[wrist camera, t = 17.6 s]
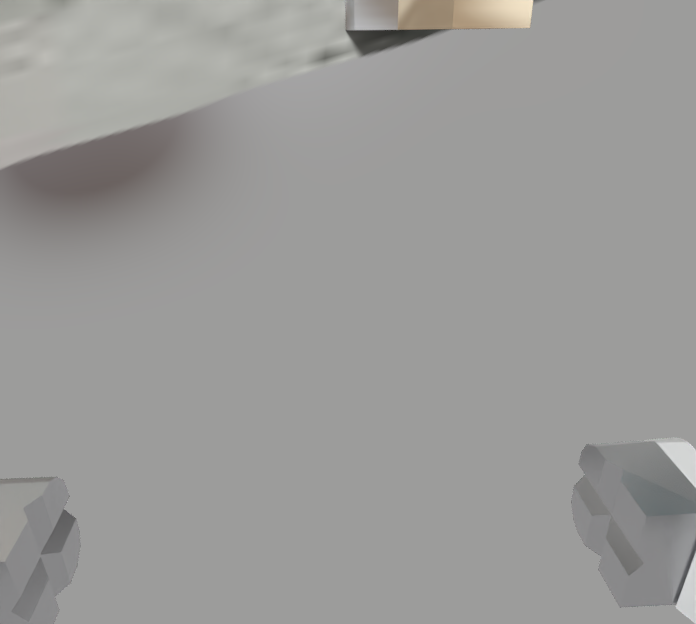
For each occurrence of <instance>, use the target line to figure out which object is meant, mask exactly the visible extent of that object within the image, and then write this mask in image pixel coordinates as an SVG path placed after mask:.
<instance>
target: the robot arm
mask: <svg viewBox="0 0 696 624" xmlns="http://www.w3.org/2000/svg"><path fill="white" fill-rule="evenodd" d="M579 466H580V467H581V469H582V470H583V472H584V473H585V475H584V476H583V477H582V478H581V479H580V480H579V481H578V482H577V483H576V485H574V489H573V495H572V501H571V503H572V512H573V520H574V523H575V526H576V528H577V531H578V534H579V535H580V537H581V539H582V541H583V543H584V545H585V546H586V547H588V548H589V549H591V550H592V551H594V552H595V553H597V554H598V555H600V556H601V559H600V564H599V569H598V570H599V572H600V573H601V575H602V577H603V579H604V580H605V582H606V584H607V586H608V587H609V589H610V591H611V593H612V595H613V596H614V598H615V600H616V602H617V603H618V605H619V607H636V606H637V607H638V606H658V605H676V608H677V609H678V610H679V611H681V612H682V613H683V614H684V615H685V616H687V617H688V618H689V619H690V620H692V621H693V622H694V623H695V624H696V450H695V449H694V448H693V447H692V446H691V445H690V443H688V442H687V441H685V440H683V439H681V438H679V437H675V438H662V439H650V440H647V441H631V442H617V443H601V444H587V445H586V446H585V447H584V449H583V450H582V452H581V456H580V460H579ZM68 499H69V493H68V491H67V488H66V485H65V482H64V480H63V479H60V478H58V477H39V478H11V479H0V624H54V622H55V620H56V617H57V615H58V613H59V607H58V604H57V602H56V598H55V596H56V595H57V594H58V593H60V592H61V591H62V590H63V589H64V588H65V587H67V586H68V585H69V584H70V583H71V581H72V578H73V576H74V573H75V570H76V568H77V565H78V558H79V552H80V531H79V527H78V524H77V520H76V518H75V517H74V516H72V515H71V514H69V513H68V512H67V511H66V510H64V507H65V505H66V503H67V501H68Z"/></svg>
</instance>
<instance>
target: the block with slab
mask: <svg viewBox="0 0 696 624" xmlns="http://www.w3.org/2000/svg"><path fill="white" fill-rule="evenodd" d="M532 7H533V0H345V10H346V30H424V29H491V28H530V24H531V16H532Z"/></svg>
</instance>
